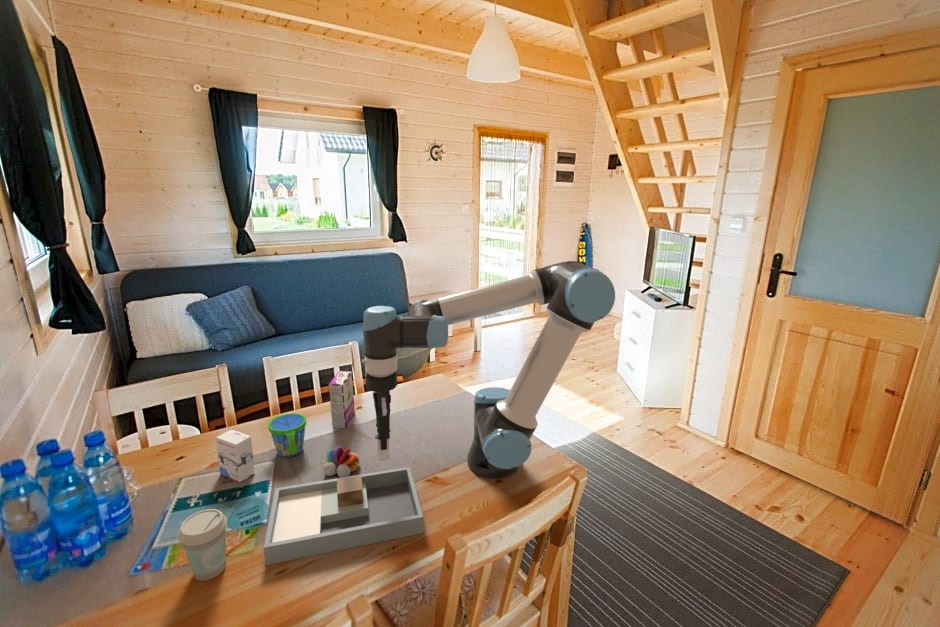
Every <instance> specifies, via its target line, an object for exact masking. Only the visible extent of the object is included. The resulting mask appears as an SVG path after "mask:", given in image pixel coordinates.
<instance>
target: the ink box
mask: <svg viewBox="0 0 940 627" xmlns="http://www.w3.org/2000/svg"><path fill="white" fill-rule="evenodd" d="M215 444H216V450H217V459H218V466H219V474H220V476H221V475H222V476H224V477H226V478H228V479H231V478H232V479H231V480H233V479H234V480H233V481H236V480H237V481H236V482H238V481H239V482H238V483H242V482H244V481H246V480H247V479H248V478H247V477H249V476H250V475H252V474H253V473H255V464H254V452H253V444H252V436H251V435H248V434H247V433H243V432H241V431H237V430H233V429H230V430H227V431H225V432H223V433H221V434H219V435H217V436H216V437H215ZM252 476H253V475H252ZM246 478H247V479H246ZM249 478H250V477H249ZM245 479H246V480H245ZM243 480H244V481H243ZM241 481H242V482H241Z"/></svg>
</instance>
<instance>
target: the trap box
mask: <svg viewBox="0 0 940 627" xmlns="http://www.w3.org/2000/svg"><path fill="white" fill-rule="evenodd" d="M360 475H361V478H362V489H363V503H362V504H356V505H351V506H345V507H340V508H338V499H337V479H338V477H337V478H331V479H325V480H320V481H319V480H318V481H312V482H307V483H301V484H300V483H299V484H294V485H287V486H281V487H275V490H274V495H273V499H272V504H271V509H270V513H269V519H268V524H267V529H266V533H265V538H264V544H263V552H264V561H265V566H268V565H274V564H278V563H283V562H287V561H292V560H299V559H303V558H307V557H313V556H318V555H322V554H327V553H331V552H337V551H342V550H346V549H353V548H356V547H363V546H367V545H372V544H376V543H381V542H382V543H383V542H386V541H392V540H395V539H401V538H406V537H407V538H408V537H410V536H411V537H412V536H416V535H419V534H420V535H421V534H424V532H425V531H424V514H423V510H422V507H421V504H420V500H419V496H418V493H417V489H416V484H415V482H414V477H413V474H412V470H411V467H410V466H407V467H400V468H399V467H398V468H393V469H388V470H382V471H375V472H370V473H363V474H360ZM351 476H352V475H349V476H348V477H351ZM354 476H357V474H355V475H354ZM343 478H345V477H343Z"/></svg>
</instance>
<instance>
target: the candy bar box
mask: <svg viewBox="0 0 940 627" xmlns="http://www.w3.org/2000/svg"><path fill="white" fill-rule="evenodd" d="M353 386H354V385H353V373H352V371H348V370H347V371H346V370H339V371H338V372H337V373H336V374H335V376H334V377H333V378H332V379H331V381H330V382H329V383H328V390H329V391H328V392H329V401H330V409H331V410H330V412H331V424H332V425H331V426H332V429H338V430H339V429H340V430H341V429H343V430H344V429H345V430H346V429H347V428H348V426H349V424H350V422H351V420H352V418H353V417H354V415H355V413H356V411H355V398H354V387H353Z"/></svg>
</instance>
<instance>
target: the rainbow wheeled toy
mask: <svg viewBox="0 0 940 627" xmlns="http://www.w3.org/2000/svg"><path fill="white" fill-rule="evenodd" d="M350 452H351V448H349V447H346V448H345V450H344V447H342V446H341V445H340V446H337V447H336V448H335V449H330V450H328V451H327V453H326V459H325V461H324V464H323V468H322V469H323V473H324V474H325V475H326V476H329V477H333V476H335V475H336V474H337V476H338V477H339V478H343V477H349V476H351V472H355V471H356V470H358V468H359V464H360V461H361V460H360V456H359V455H358V453H355V452H351V453H350Z"/></svg>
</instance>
